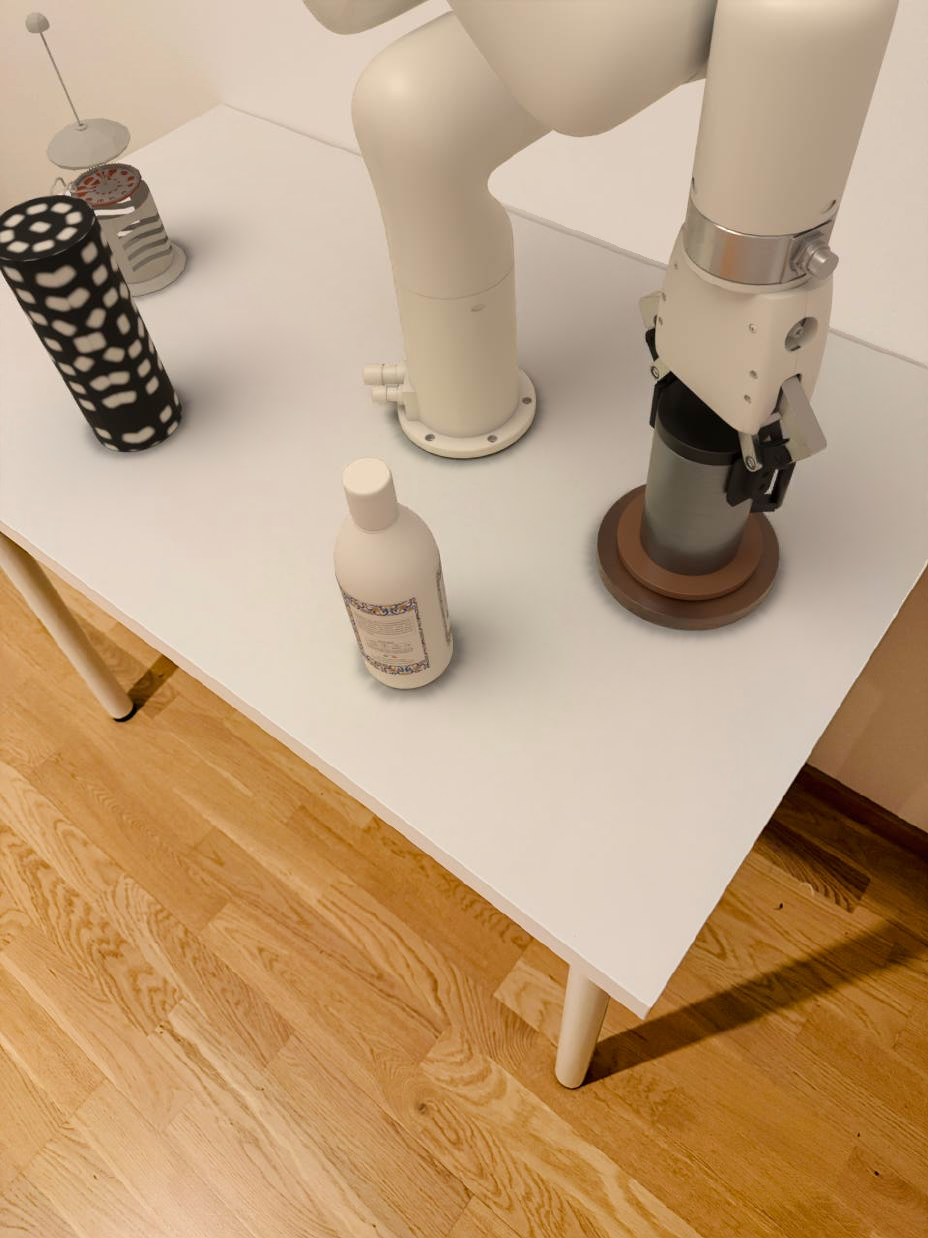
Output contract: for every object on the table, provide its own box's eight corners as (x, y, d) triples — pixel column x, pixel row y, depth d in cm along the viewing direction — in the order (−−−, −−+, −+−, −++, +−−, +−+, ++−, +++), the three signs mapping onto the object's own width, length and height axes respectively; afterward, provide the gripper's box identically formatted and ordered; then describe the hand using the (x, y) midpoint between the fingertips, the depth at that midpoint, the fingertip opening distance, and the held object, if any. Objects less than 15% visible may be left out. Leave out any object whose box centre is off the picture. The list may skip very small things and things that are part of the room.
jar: (610, 492, 74) (622, 358, 62) (756, 484, 73) (797, 346, 61) (624, 604, 68) (641, 478, 56) (784, 596, 67) (835, 467, 55)
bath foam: (405, 598, 72) (364, 414, 55) (472, 644, 69) (450, 464, 52) (345, 658, 69) (282, 484, 52) (412, 708, 66) (368, 541, 50)
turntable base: (594, 626, 69) (595, 615, 68) (597, 487, 77) (598, 475, 75) (783, 634, 67) (788, 623, 66) (768, 491, 75) (771, 479, 74)
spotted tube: (199, 401, 86) (116, 206, 69) (148, 461, 82) (47, 270, 65) (129, 379, 88) (33, 186, 72) (76, 438, 84) (-39, 247, 68)
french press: (204, 254, 99) (113, -2, 78) (131, 317, 94) (12, 61, 73) (140, 230, 102) (36, -22, 81) (65, 289, 97) (-66, 37, 76)
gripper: (935, 285, 44) (837, 515, 59) (710, 130, 53) (673, 364, 68) (815, 344, 43) (745, 565, 57) (603, 174, 51) (590, 404, 66)
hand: (706, 455), depth 62 cm, fingers closed on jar, 7 cm apart
